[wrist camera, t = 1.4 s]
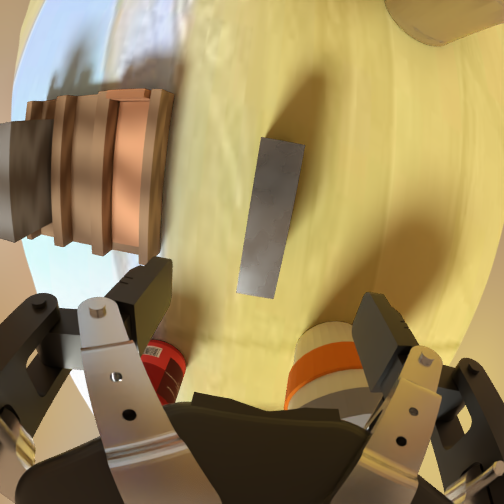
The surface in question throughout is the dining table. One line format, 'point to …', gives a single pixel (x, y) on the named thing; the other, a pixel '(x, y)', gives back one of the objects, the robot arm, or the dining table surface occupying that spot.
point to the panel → (269, 216)
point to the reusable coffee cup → (330, 374)
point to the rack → (88, 171)
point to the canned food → (164, 369)
